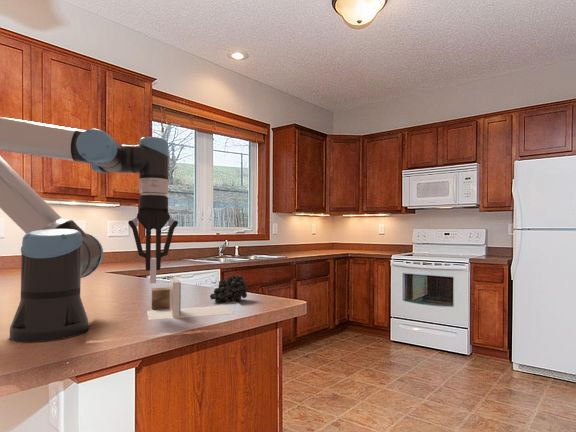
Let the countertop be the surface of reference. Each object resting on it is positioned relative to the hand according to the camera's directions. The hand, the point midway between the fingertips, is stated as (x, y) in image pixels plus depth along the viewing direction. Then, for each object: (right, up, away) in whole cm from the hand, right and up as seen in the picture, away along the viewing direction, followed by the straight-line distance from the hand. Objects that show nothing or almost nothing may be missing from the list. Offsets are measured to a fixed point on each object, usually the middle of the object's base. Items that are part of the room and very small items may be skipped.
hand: (152, 282), depth 105 cm
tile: (+5, -9, +2) cm, 10 cm away
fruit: (+16, -10, +22) cm, 30 cm away
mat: (+9, -9, +3) cm, 14 cm away
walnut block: (-1, -10, +10) cm, 14 cm away
